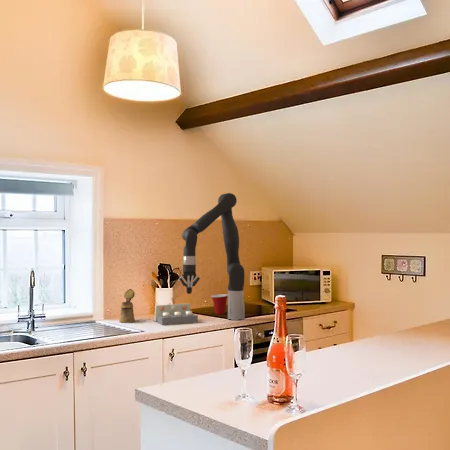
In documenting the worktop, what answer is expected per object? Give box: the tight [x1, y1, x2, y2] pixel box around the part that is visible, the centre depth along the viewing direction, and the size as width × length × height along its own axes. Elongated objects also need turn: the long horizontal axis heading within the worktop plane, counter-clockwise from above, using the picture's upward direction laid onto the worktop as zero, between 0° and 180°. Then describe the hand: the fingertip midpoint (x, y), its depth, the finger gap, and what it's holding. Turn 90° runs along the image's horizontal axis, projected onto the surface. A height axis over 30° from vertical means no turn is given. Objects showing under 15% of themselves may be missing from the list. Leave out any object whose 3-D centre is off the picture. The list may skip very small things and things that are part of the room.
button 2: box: [186, 310, 193, 316], centre depth 327 cm, size 4×4×2 cm
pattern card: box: [152, 303, 191, 323], centre depth 332 cm, size 22×4×10 cm, turn 116°
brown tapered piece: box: [119, 288, 136, 324], centre depth 329 cm, size 9×14×18 cm, turn 178°
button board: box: [156, 313, 199, 326], centre depth 324 cm, size 22×8×4 cm, turn 116°
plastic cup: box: [211, 293, 228, 315], centre depth 360 cm, size 11×11×12 cm
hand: (189, 293), depth 327 cm, fingers closed
